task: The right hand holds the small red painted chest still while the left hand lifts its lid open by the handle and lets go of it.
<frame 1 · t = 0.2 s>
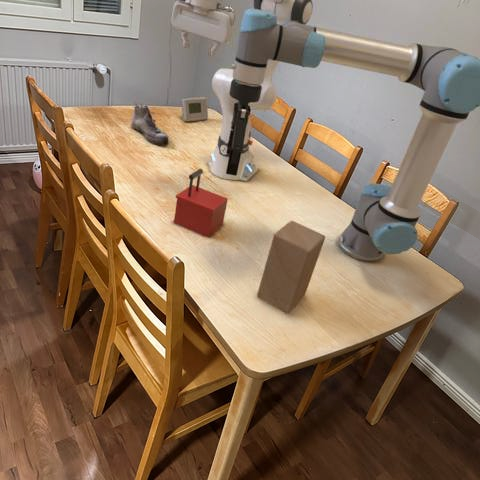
left hand: (198, 52, 131), 48 cm above the table, tool pointing down, fingers open, 8 cm apart
right hand: (231, 163, 116), 28 cm above the table, tool pointing down, fingers open, 13 cm apart
chest: (198, 223, 142), on the table
shoe: (149, 136, 196), on the table
lid: (203, 187, 135), point 13 cm above the table, hinge at 0.0°
digital clock: (193, 119, 226), on the table
wooden block: (280, 297, 118), on the table
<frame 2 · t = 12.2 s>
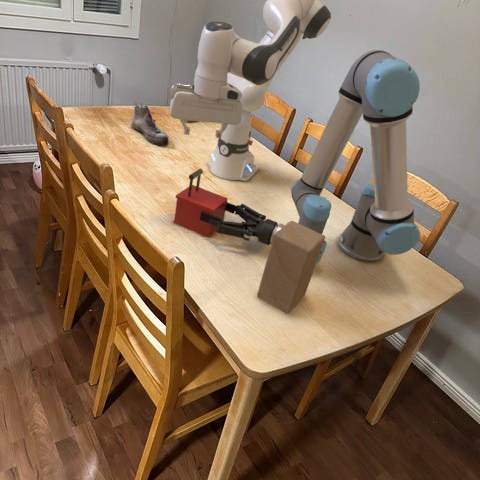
left hand: (202, 135, 127), 29 cm above the table, tool pointing down, fingers open, 8 cm apart
right hand: (209, 208, 138), 7 cm above the table, tool horizontal, fingers closed on chest, 10 cm apart
chest: (198, 223, 142), on the table, touching right hand
everything else where it was.
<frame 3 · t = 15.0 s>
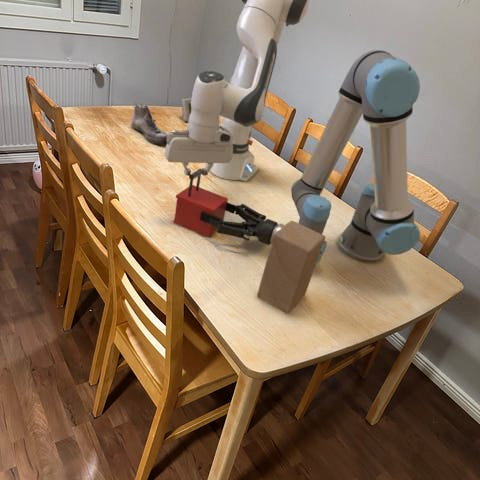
left hand: (196, 174, 134), 16 cm above the table, tool pointing down, fingers closed on lid, 4 cm apart
right hand: (209, 208, 138), 7 cm above the table, tool horizontal, fingers closed on chest, 10 cm apart
chest: (198, 223, 142), on the table, touching right hand
lid: (203, 187, 135), point 13 cm above the table, hinge at 0.1°, touching left hand
everything else where it was.
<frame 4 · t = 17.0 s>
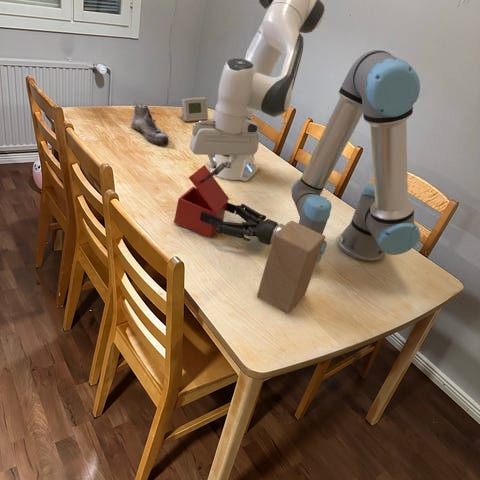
left hand: (220, 167, 129), 21 cm above the table, tool pointing down, fingers closed on lid, 3 cm apart
right hand: (209, 209, 137), 7 cm above the table, tool horizontal, fingers closed on chest, 10 cm apart
chest: (198, 223, 141), on the table, touching right hand
lid: (218, 183, 132), point 16 cm above the table, hinge at 37.1°, touching left hand
everything else where it was.
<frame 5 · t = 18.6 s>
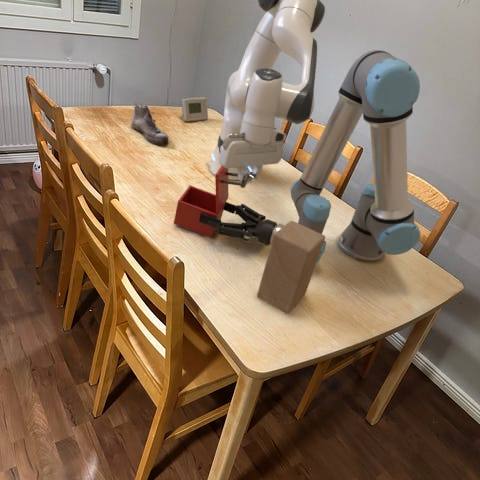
left hand: (246, 179, 127), 21 cm above the table, tool pointing down, fingers closed on lid, 3 cm apart
right hand: (208, 209, 137), 7 cm above the table, tool horizontal, fingers closed on chest, 11 cm apart
chest: (197, 221, 141), point 1 cm above the table, tilted 8°, touching right hand
lid: (234, 188, 130), point 17 cm above the table, hinge at 76.4°, touching left hand
everything else where it was.
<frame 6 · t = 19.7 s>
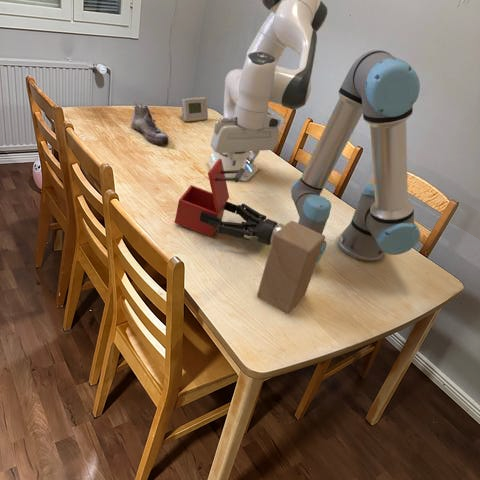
left hand: (240, 164, 126), 24 cm above the table, tool pointing down, fingers open, 5 cm apart
right hand: (209, 209, 137), 7 cm above the table, tool horizontal, fingers closed on chest, 11 cm apart
chest: (198, 221, 141), point 1 cm above the table, tilted 7°, touching right hand
lid: (230, 185, 130), point 17 cm above the table, hinge at 65.4°
everything else where it was.
when the right hand's fingers open (7 cm above the table, at t = 23.0 s): chest stays where it is, on the table.
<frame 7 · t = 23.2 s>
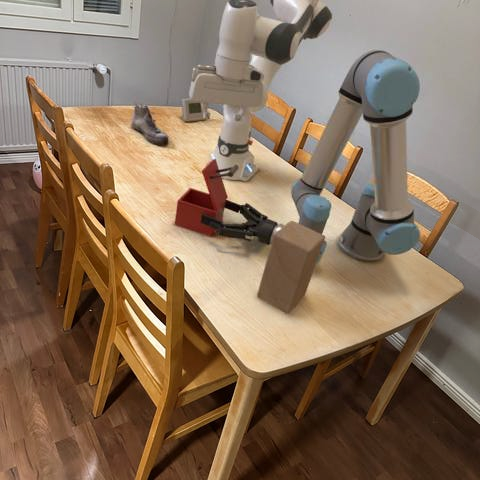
left hand: (222, 119, 123), 35 cm above the table, tool pointing down, fingers open, 8 cm apart
right hand: (211, 209, 137), 7 cm above the table, tool horizontal, fingers open, 13 cm apart
chest: (198, 223, 142), on the table
lid: (226, 182, 132), point 17 cm above the table, hinge at 61.9°
everything else where it was.
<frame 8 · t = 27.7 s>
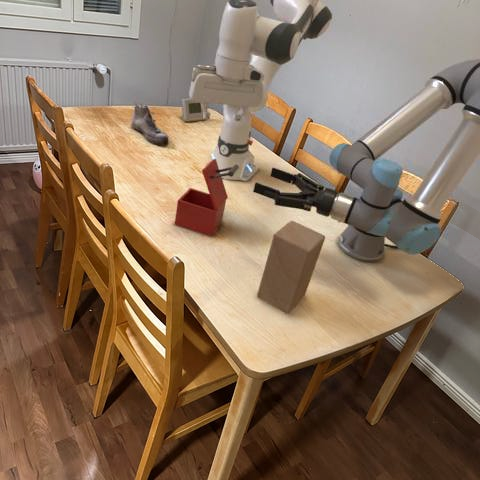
left hand: (222, 119, 123), 35 cm above the table, tool pointing down, fingers open, 8 cm apart
right hand: (263, 179, 126), 22 cm above the table, tool horizontal, fingers open, 13 cm apart
nothing on the table moved.
at the end: lid at +62° (first picture: +0°); the left hand is holding nothing; the right hand is holding nothing; chest tilted 0°; chest never tilted more than 8° during the clip; chest moved 0.1 cm from its start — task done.
